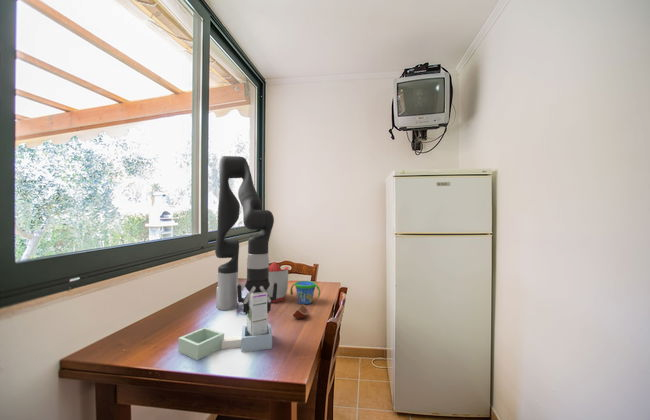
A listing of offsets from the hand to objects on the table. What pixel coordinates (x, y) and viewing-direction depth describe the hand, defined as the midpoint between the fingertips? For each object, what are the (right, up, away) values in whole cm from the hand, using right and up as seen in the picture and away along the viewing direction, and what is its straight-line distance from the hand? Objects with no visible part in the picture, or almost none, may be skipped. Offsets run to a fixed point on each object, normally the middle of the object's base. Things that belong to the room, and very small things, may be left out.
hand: (257, 312), depth 96 cm
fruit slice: (+13, -12, +24) cm, 30 cm away
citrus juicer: (-3, -12, +49) cm, 51 cm away
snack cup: (+14, -12, +44) cm, 48 cm away
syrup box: (0, -7, 0) cm, 7 cm away
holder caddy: (-10, -11, -3) cm, 15 cm away
